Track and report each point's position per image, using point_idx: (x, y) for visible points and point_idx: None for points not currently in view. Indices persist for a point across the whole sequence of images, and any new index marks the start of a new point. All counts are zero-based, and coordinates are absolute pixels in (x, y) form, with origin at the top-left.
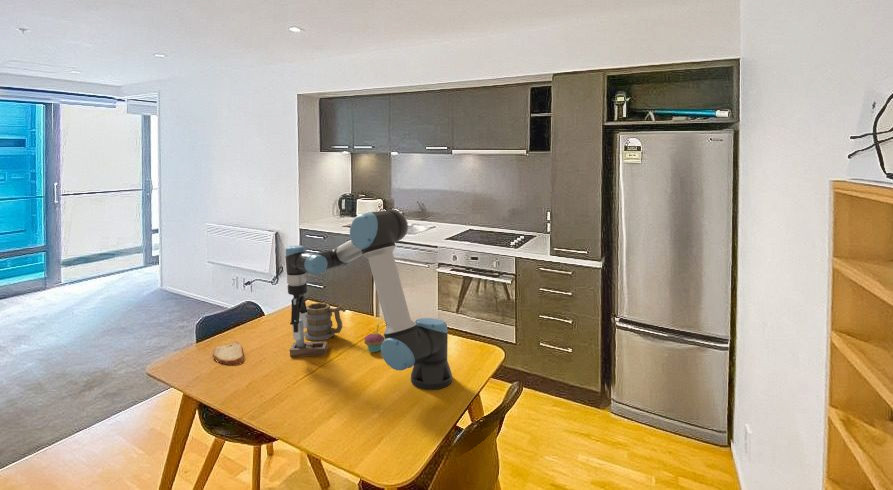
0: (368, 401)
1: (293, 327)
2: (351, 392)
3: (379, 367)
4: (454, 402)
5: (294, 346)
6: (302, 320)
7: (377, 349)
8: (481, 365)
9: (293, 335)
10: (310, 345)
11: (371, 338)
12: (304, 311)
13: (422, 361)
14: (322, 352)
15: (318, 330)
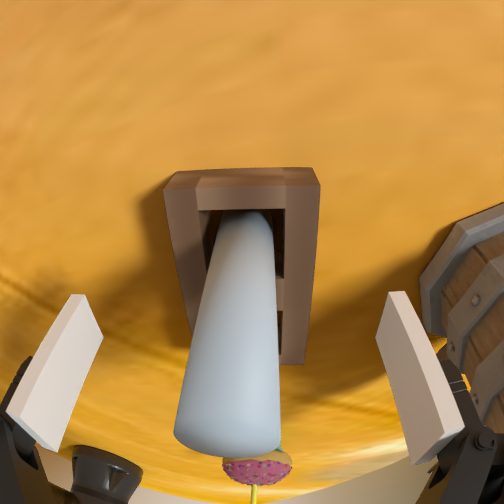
0: (2, 390)
1: (23, 388)
2: (9, 376)
3: (136, 432)
4: (60, 453)
5: (232, 208)
6: (232, 455)
7: None
8: (182, 494)
9: (56, 323)
10: None
11: (232, 475)
12: (430, 477)
13: (71, 488)
14: None
15: (448, 322)
